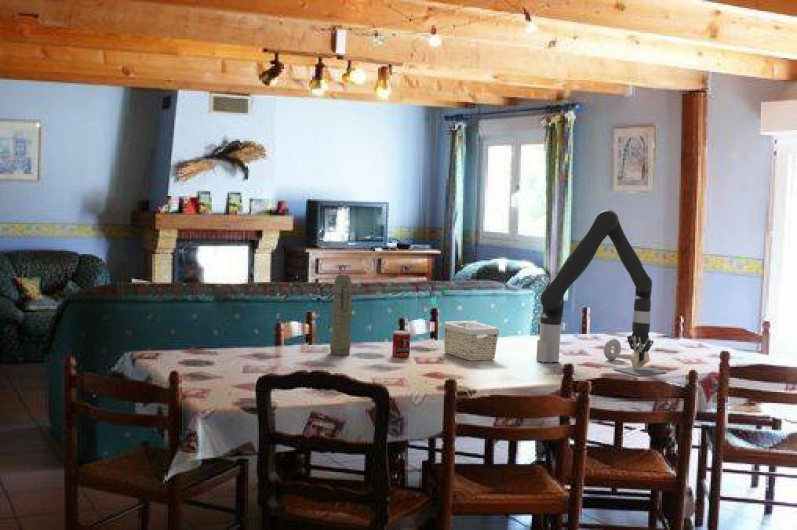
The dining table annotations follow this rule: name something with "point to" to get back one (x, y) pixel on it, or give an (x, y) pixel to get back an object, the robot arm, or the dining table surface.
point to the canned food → (401, 344)
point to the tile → (635, 359)
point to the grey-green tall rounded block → (341, 316)
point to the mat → (639, 371)
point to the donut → (616, 350)
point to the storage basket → (470, 340)
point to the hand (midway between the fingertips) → (638, 360)
